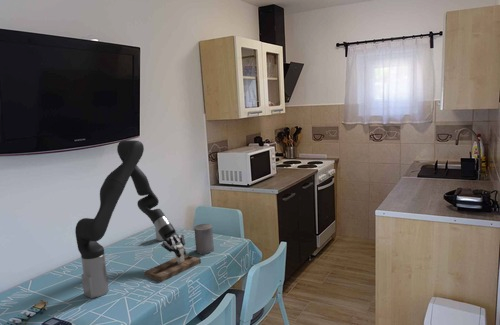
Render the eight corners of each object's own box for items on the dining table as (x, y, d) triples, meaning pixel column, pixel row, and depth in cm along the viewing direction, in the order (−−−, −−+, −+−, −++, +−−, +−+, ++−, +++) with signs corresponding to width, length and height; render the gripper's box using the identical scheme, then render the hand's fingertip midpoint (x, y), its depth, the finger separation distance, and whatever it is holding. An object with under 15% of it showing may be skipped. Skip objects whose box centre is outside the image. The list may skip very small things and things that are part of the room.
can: (165, 241, 229) (164, 221, 227) (154, 241, 231) (152, 221, 229) (171, 237, 236) (169, 218, 235) (159, 236, 238) (157, 218, 236)
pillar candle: (199, 247, 217) (197, 221, 214) (216, 247, 215) (214, 221, 213) (193, 254, 207) (191, 227, 205) (211, 254, 206) (209, 227, 203)
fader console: (161, 282, 176) (160, 277, 175) (145, 275, 183) (144, 271, 183) (200, 262, 195) (200, 258, 195) (184, 257, 202) (184, 253, 202)
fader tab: (180, 265, 190) (179, 247, 189) (176, 263, 192) (174, 245, 191) (184, 263, 192) (183, 245, 191) (180, 261, 194) (178, 244, 193)
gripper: (156, 227, 189) (174, 256, 183) (178, 219, 199) (196, 246, 194) (150, 235, 193) (168, 264, 187) (172, 228, 203) (189, 254, 198)
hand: (182, 255), depth 190 cm, fingers closed on fader tab, 2 cm apart
